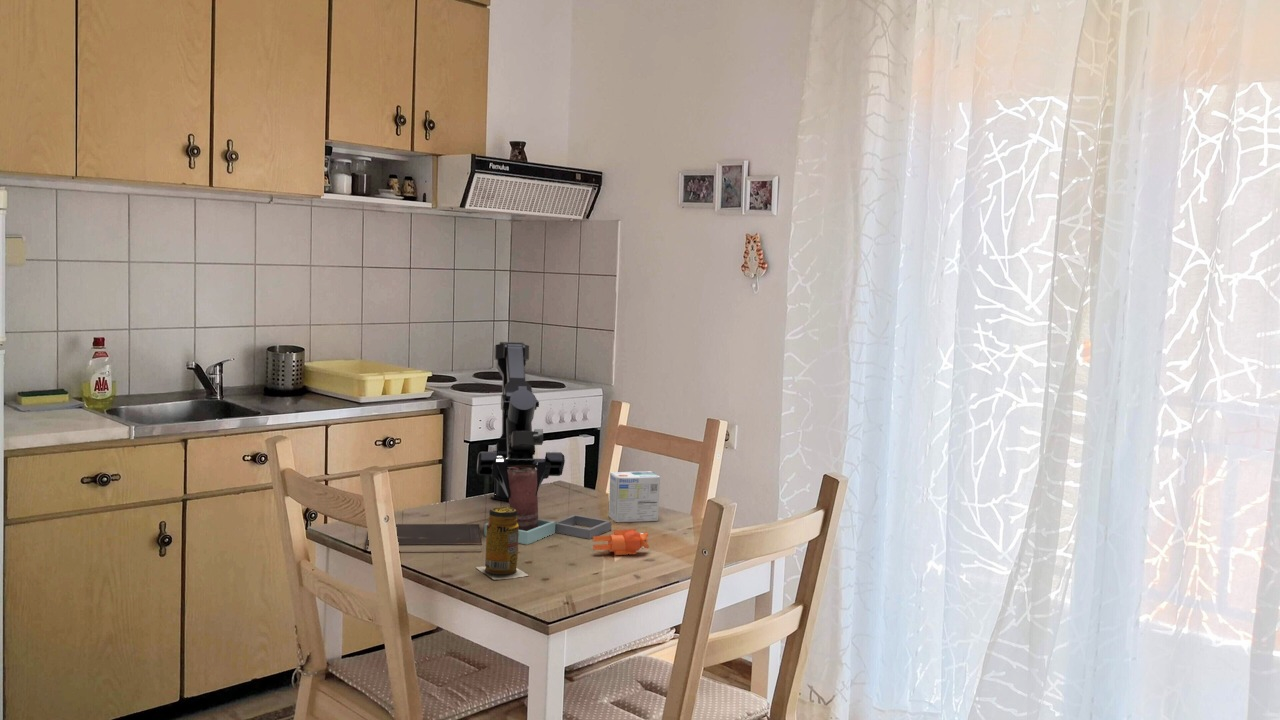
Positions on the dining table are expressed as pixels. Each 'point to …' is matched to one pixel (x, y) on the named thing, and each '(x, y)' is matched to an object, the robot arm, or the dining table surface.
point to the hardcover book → (438, 537)
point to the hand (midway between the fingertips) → (522, 496)
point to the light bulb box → (634, 496)
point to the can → (524, 495)
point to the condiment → (502, 545)
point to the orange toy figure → (622, 542)
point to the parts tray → (533, 532)
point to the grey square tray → (566, 527)
